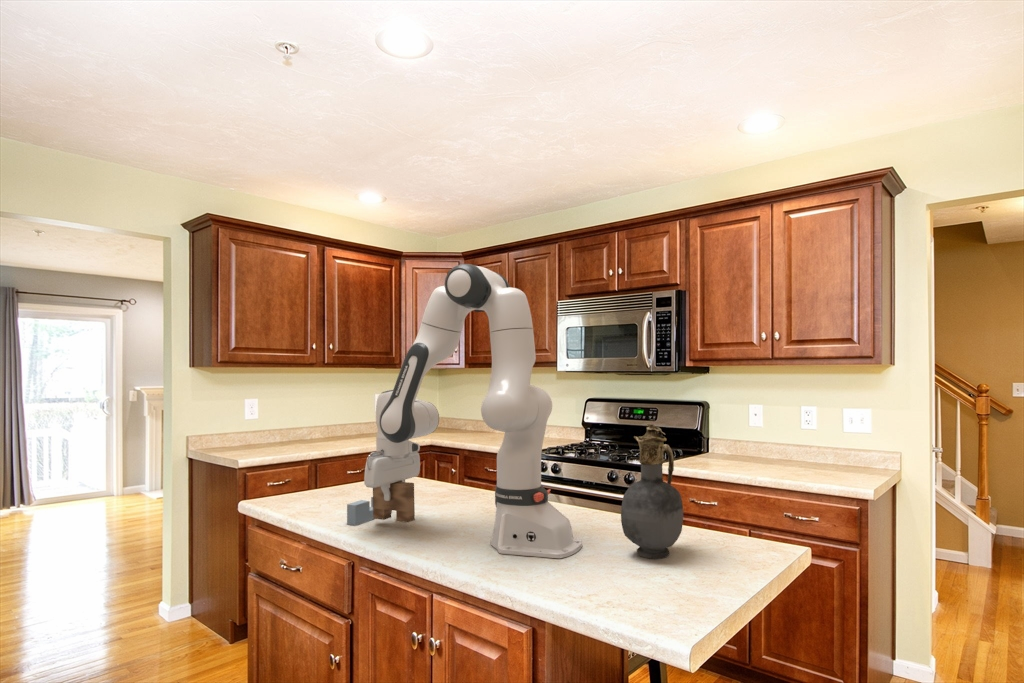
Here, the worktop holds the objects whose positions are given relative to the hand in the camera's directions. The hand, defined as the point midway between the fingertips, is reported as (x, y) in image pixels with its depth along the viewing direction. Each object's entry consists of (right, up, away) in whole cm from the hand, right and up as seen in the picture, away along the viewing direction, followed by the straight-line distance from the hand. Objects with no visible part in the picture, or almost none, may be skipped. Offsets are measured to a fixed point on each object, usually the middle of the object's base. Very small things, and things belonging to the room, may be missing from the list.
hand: (393, 498), depth 165 cm
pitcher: (+67, -6, -25) cm, 71 cm away
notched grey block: (-8, -8, +9) cm, 14 cm away
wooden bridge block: (0, -6, 0) cm, 6 cm away
